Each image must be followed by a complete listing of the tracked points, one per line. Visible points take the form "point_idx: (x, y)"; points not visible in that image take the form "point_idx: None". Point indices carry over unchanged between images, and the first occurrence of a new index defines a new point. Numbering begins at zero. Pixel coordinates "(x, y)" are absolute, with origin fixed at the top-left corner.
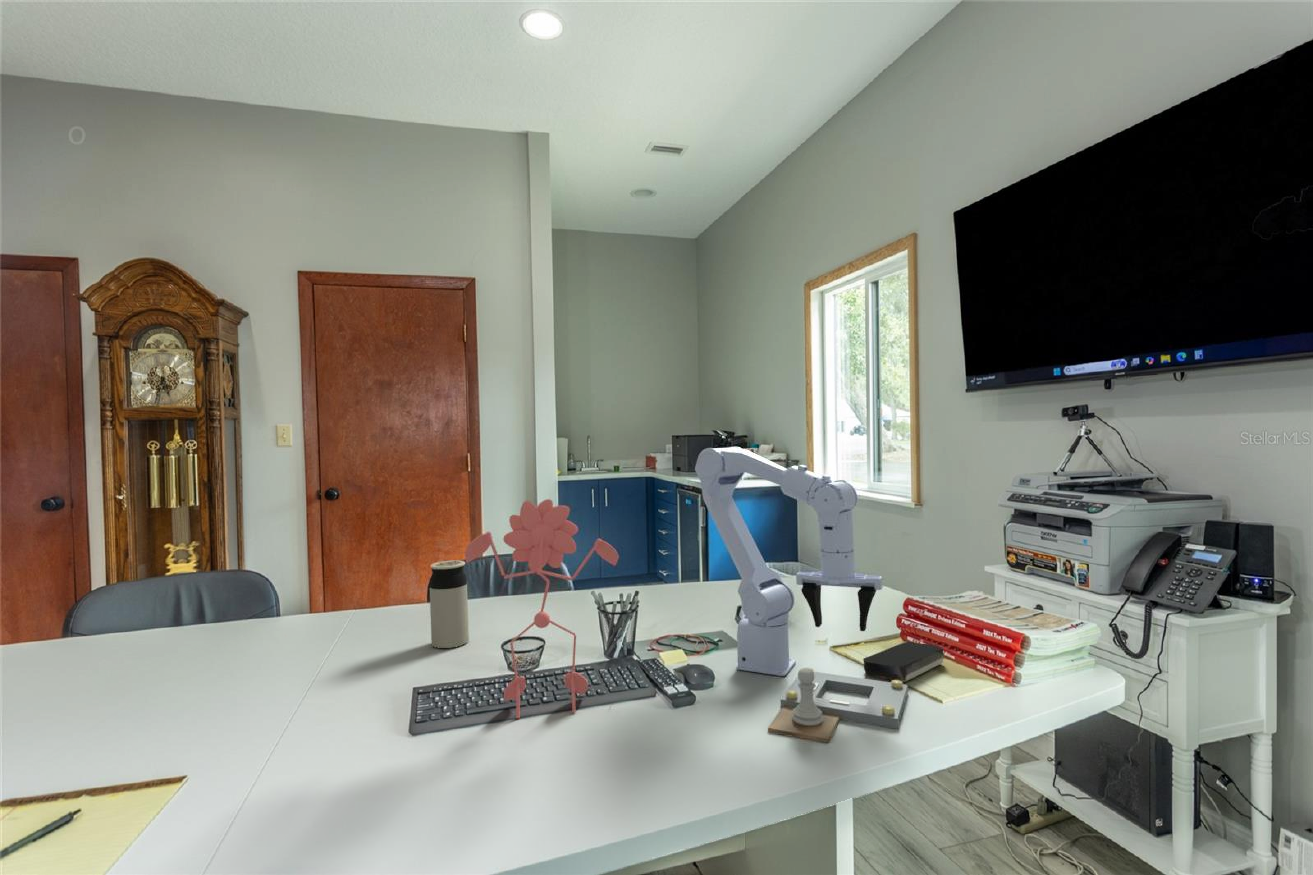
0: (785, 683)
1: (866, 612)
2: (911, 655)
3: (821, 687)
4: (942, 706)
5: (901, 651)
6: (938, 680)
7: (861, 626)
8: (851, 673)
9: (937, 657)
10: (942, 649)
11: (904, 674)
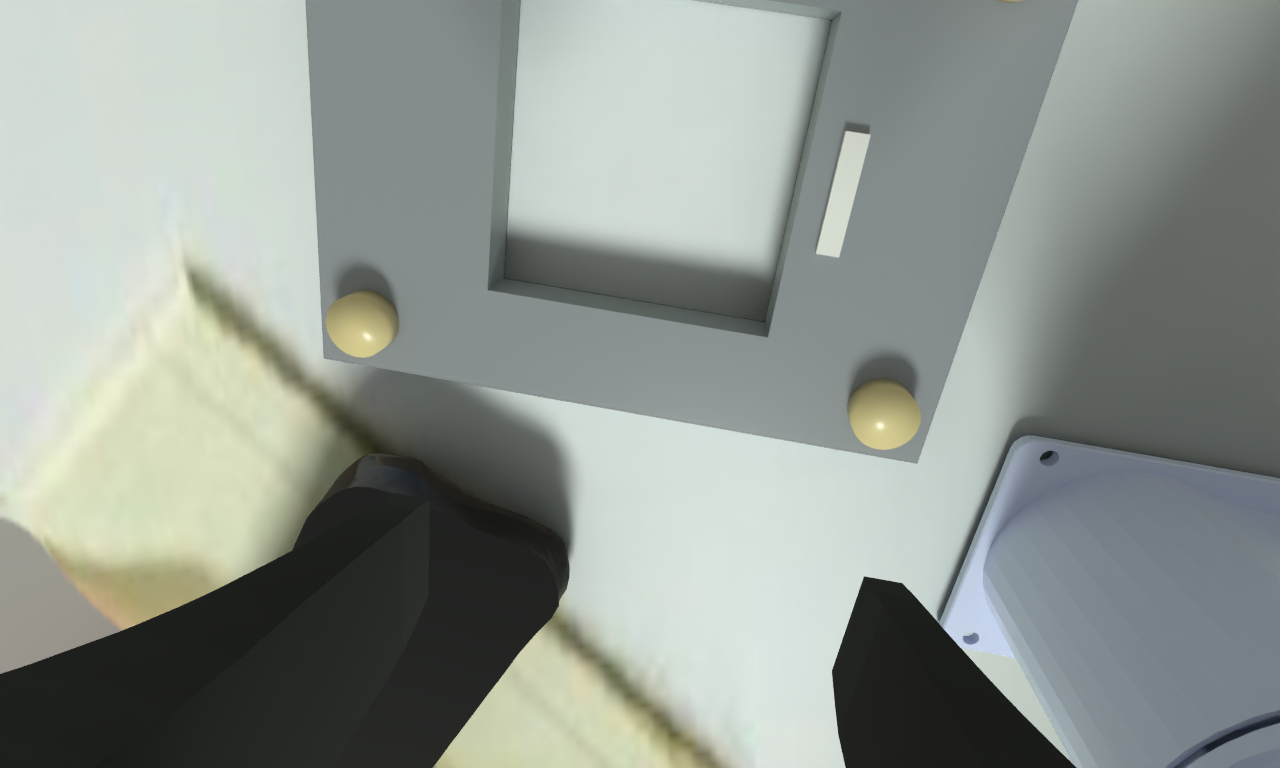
0: (1014, 348)
1: (191, 602)
2: None
3: (798, 203)
4: (177, 222)
5: (380, 708)
6: (248, 525)
7: (387, 515)
8: (636, 544)
9: None
10: None
11: (347, 470)
